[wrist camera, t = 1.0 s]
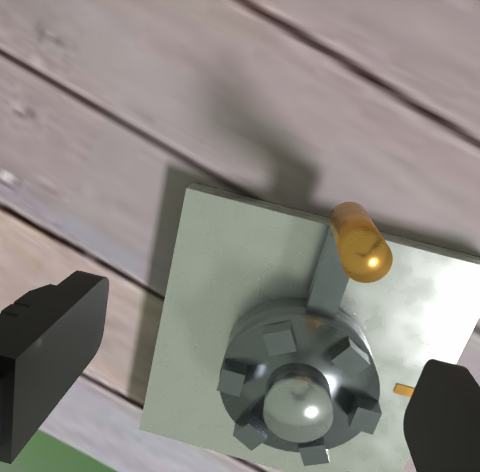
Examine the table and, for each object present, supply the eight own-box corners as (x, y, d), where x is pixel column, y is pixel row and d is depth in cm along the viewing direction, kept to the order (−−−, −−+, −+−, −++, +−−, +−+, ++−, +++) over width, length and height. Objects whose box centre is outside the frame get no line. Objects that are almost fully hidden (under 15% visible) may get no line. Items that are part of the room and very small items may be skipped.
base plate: (192, 182, 30) (185, 188, 28) (488, 259, 29) (503, 271, 27) (147, 412, 38) (138, 430, 36) (382, 480, 37) (387, 501, 35)
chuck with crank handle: (271, 177, 27) (262, 208, 20) (435, 220, 27) (490, 267, 19) (212, 398, 33) (189, 485, 26) (344, 435, 33) (359, 535, 25)
